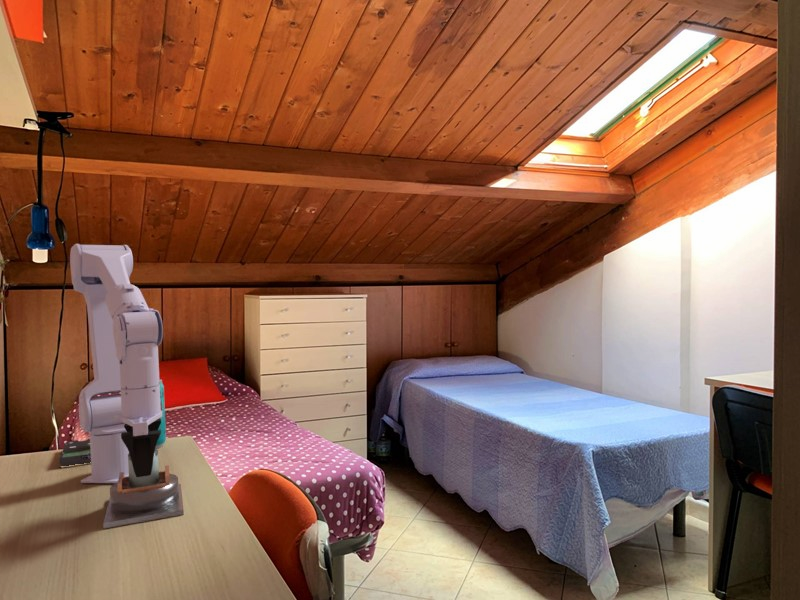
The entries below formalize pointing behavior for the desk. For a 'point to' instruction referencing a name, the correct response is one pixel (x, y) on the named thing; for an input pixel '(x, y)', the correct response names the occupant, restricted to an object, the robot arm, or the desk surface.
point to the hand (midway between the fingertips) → (144, 470)
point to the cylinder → (144, 480)
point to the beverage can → (162, 419)
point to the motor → (143, 501)
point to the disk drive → (75, 453)
